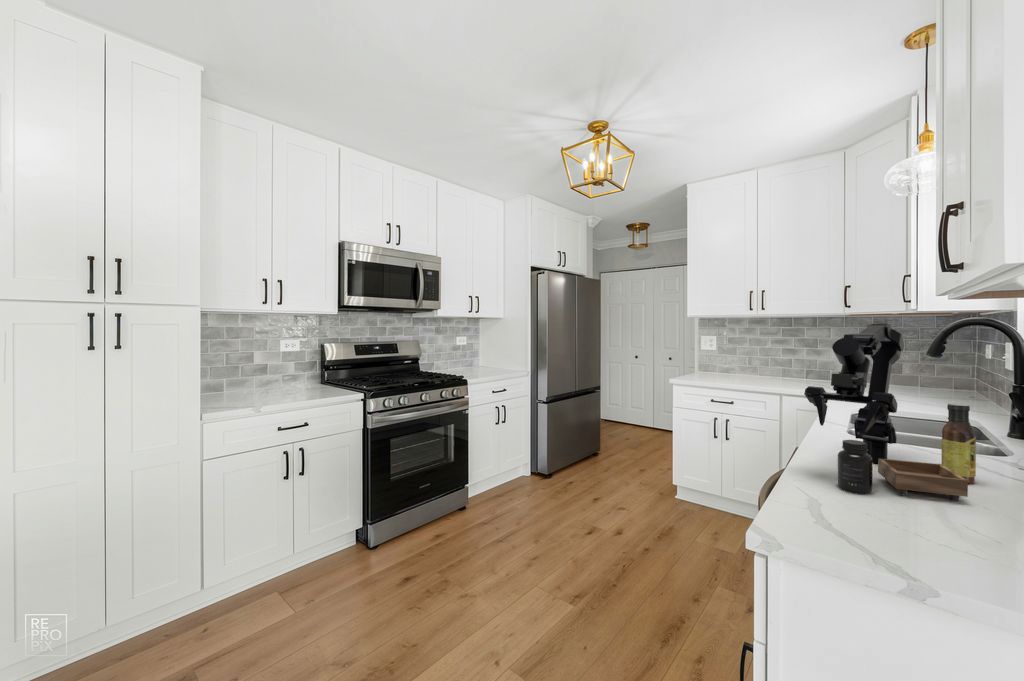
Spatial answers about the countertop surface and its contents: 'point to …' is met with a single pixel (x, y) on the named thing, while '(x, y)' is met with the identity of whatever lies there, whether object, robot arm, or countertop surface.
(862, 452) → the supplement bottle
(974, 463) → the sauce bottle
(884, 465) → the square wooden tray
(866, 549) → the countertop surface
